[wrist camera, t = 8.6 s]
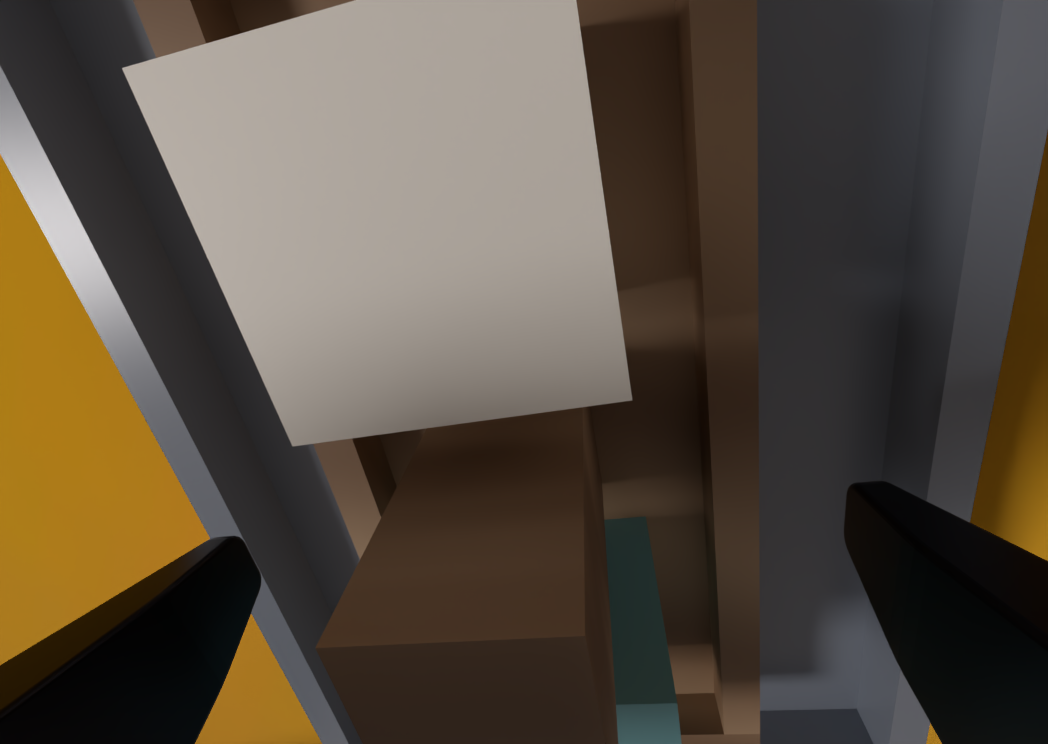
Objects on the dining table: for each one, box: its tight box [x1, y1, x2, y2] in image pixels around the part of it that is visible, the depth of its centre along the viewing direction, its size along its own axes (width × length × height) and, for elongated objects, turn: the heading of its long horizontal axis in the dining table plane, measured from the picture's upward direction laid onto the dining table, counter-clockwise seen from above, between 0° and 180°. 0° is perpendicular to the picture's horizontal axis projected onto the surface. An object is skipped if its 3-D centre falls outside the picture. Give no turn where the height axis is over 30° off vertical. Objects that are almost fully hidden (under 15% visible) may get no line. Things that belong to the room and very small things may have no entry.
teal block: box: [604, 516, 682, 744], centre depth 10 cm, size 4×4×4 cm
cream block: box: [122, 0, 632, 446], centre depth 7 cm, size 4×4×4 cm
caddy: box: [133, 0, 760, 744], centre depth 8 cm, size 18×8×7 cm, turn 11°
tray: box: [0, 0, 1048, 744], centre depth 11 cm, size 23×16×2 cm
